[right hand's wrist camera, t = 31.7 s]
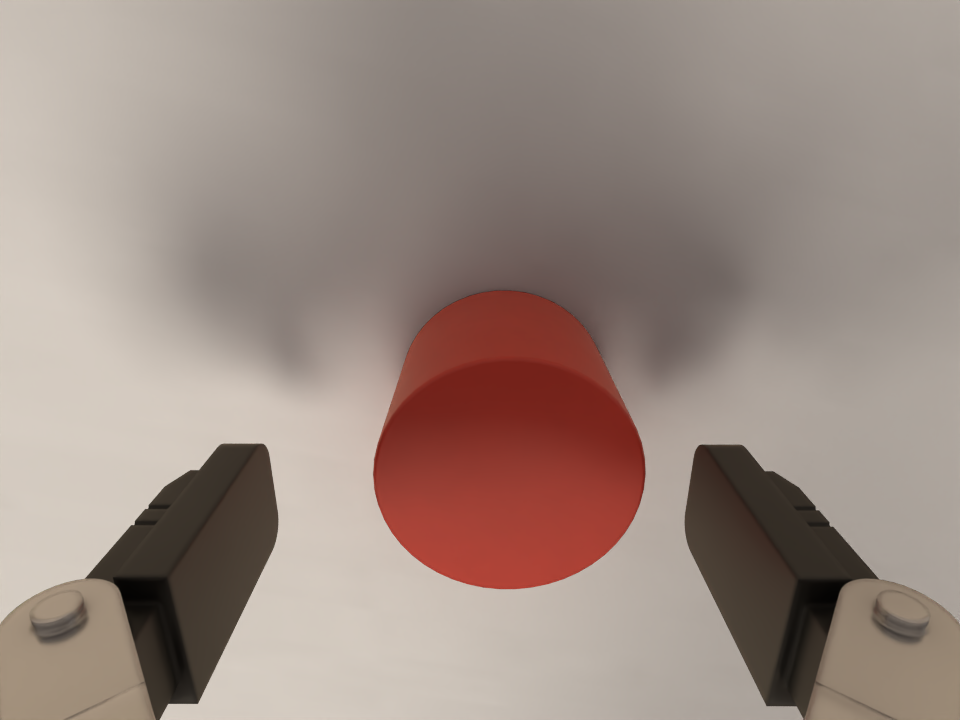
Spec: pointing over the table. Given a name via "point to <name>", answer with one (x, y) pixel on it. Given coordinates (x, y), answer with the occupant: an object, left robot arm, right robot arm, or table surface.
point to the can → (507, 446)
